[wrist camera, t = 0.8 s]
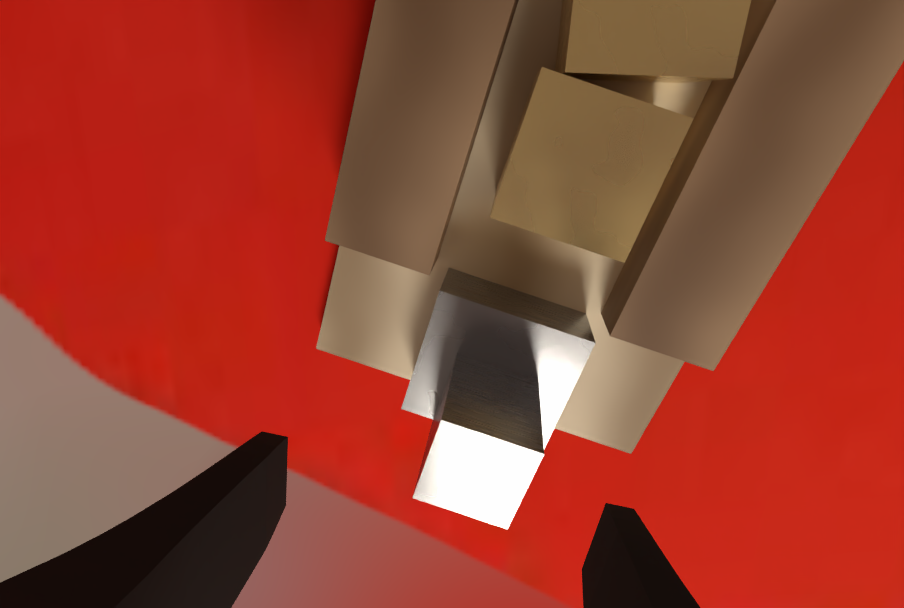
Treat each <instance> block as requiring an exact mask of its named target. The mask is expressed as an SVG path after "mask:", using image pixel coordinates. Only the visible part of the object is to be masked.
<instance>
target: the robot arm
mask: <svg viewBox="0 0 904 608" xmlns="http://www.w3.org/2000/svg"><path fill="white" fill-rule="evenodd" d="M287 448H288V437H286V436H281V435H276V434H271V433H266V432H261V433H259V434H257V435H256V436H254V437H253V438H252V439H250V440H249V441H247V442H246V443H244V444H243V445H241V446H240V447H238V448H237V449H236V450H234V451H233V452H231V453H230V454H228V455H227V456H226V457H224V458H223V459H221V460H220V461H218V462H217V463H215V464H214V465H213V466H211V467H210V468H208V469H207V470H205V471H204V472H202V473H201V474H199V475H198V476H196V477H195V478H193V479H192V480H190V481H189V482H187V483H186V484H184V485H183V486H181V487H180V488H178V489H177V490H175V491H174V492H172V493H170V494H169V495H167V496H166V497H164V498H162V499H161V500H159V501H157V502H156V503H154V504H152V505H151V506H149V507H148V508H146V509H144V510H143V511H141V512H139V513H138V514H136V515H134V516H133V517H131V518H129V519H128V520H126V521H124V522H122V523H121V524H119V525H117V526H115V527H113V528H112V529H110V530H108V531H106V532H104V533H103V534H101V535H99V536H97V537H95V538H93V539H91V540H89V541H87V542H85V543H83V544H81V545H80V546H78V547H76V548H74V549H72V550H70V551H68V552H66V553H64V554H62V555H60V556H58V557H56V558H53V559H51V560H49V561H47V562H45V563H42V564H40V565H38V566H36V567H34V568H31V569H29V570H27V571H25V572H23V573H20V574H18V575H16V576H14V577H12V578H9V579H7V580H5V581H3V582H1V583H0V608H231V607H232V605H233V604H234V602H235V600H236V599H237V597H238V595H239V594H240V592H241V590H242V589H243V587H244V585H245V584H246V582H247V580H248V579H249V577H250V575H251V574H252V572H253V570H254V569H255V567H256V565H257V563H258V562H259V560H260V558H261V557H262V555H263V553H264V551H265V550H266V548H267V546H268V544H269V541H270V539H271V537H272V535H273V533H274V531H275V528H276V526H277V524H278V522H279V520H280V517H281V515H282V513H283V510H284V508H285V506H286V482H287ZM582 583H583V605H584V608H700V607H699V605H698V604H697V602H696V601H695V599H694V598H693V597H692V595H691V594H690V592H689V591H688V589H687V588H686V587H685V585H684V584H683V582H682V581H681V579H680V578H679V576H678V575H677V574H676V572H675V571H674V569H673V568H672V566H671V565H670V563H669V562H668V560H667V559H666V557H665V555H664V554H663V552H662V551H661V549H660V548H659V546H658V545H657V543H656V542H655V540H654V539H653V537H652V536H651V534H650V533H649V531H648V530H647V528H646V526H645V525H644V523H643V522H642V520H641V519H640V517H639V516H638V514H637V513H636V511H635V510H634V509H632V508H627V507H622V506H617V505H613V504H608V503H606V504H605V507H604V510H603V513H602V515H601V518H600V521H599V524H598V526H597V529H596V532H595V535H594V537H593V540H592V543H591V546H590V548H589V551H588V554H587V557H586V559H585V562H584V565H583V568H582Z"/></svg>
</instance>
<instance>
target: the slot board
mask: <svg viewBox="0 0 904 608" xmlns="http://www.w3.org/2000/svg"><path fill="white" fill-rule="evenodd" d="M561 9H562V0H376V1H375V6H374V11H373V15H372V20H371V25H370V30H369V34H368V39H367V44H366V48H365V53H364V58H363V63H362V67H361V72H360V77H359V82H358V86H357V91H356V96H355V100H354V105H353V110H352V115H351V119H350V124H349V129H348V134H347V138H346V143H345V148H344V152H343V157H342V162H341V167H340V171H339V176H338V181H337V186H336V190H335V195H334V200H333V204H332V209H331V214H330V219H329V223H328V228H327V233H326V238H325V241H328V242H331V243H334V244H337V245H339V249H338V254H337V258H336V263H335V267H334V272H333V276H332V280H331V285H330V289H329V294H328V298H327V303H326V307H325V312H324V316H323V320H322V325H321V329H320V334H319V338H318V343H317V347H316V349H319V350H322V351H325V352H328V353H331V354H334V355H337V356H340V357H343V358H346V359H349V360H352V361H355V362H358V363H361V364H364V365H367V366H370V367H373V368H376V369H379V370H382V371H385V372H388V373H391V374H394V375H397V376H400V377H403V378H406V379H409V380H411V377H412V374H413V371H414V368H415V365H416V362H417V359H418V356H419V353H420V349H421V346H422V343H423V340H424V337H425V334H426V331H427V328H428V325H429V322H430V319H431V315H432V312H433V309H434V306H435V303H436V300H437V297H438V294H439V291H440V288H441V286H442V283H443V281H444V278H445V276H446V273H447V271H448V268H452V269H455V270H458V271H461V272H464V273H467V274H470V275H473V276H476V277H479V278H482V279H485V280H488V281H491V282H494V283H497V284H500V285H503V286H506V287H509V288H512V289H515V290H518V291H521V292H524V293H527V294H530V295H533V296H536V297H539V298H542V299H544V300H547V301H550V302H553V303H556V304H559V305H562V306H565V307H568V308H571V309H574V310H577V311H580V312H583V313H586V315H587V318H588V321H589V324H590V327H591V330H592V333H593V336H594V339H595V345H594V347H593V349H592V352H591V354H590V356H589V358H588V360H587V362H586V364H585V366H584V368H583V370H582V372H581V374H580V376H579V378H578V380H577V382H576V384H575V386H574V389H573V391H572V393H571V395H570V397H569V399H568V401H567V403H566V405H565V407H564V409H563V411H562V413H561V415H560V417H559V419H558V421H557V423H556V426H555V428H556V429H559V430H562V431H565V432H568V433H571V434H574V435H577V436H580V437H583V438H585V439H588V440H591V441H594V442H597V443H600V444H603V445H606V446H609V447H612V448H615V449H618V450H621V451H624V452H627V453H630V454H631V453H632V451H633V450H634V448H635V446H636V444H637V443H638V441H639V439H640V437H641V436H642V434H643V432H644V431H645V429H646V427H647V425H648V424H649V422H650V420H651V419H652V417H653V415H654V413H655V412H656V410H657V408H658V406H659V405H660V403H661V401H662V400H663V398H664V396H665V394H666V393H667V391H668V389H669V387H670V386H671V384H672V382H673V381H674V379H675V377H676V375H677V374H678V372H679V370H680V369H681V367H682V365H683V363H684V362H688V363H691V364H694V365H697V366H700V367H703V368H706V369H709V370H712V371H714V369H715V368H716V366H717V364H718V363H719V361H720V359H721V358H722V356H723V354H724V353H725V351H726V350H727V348H728V346H729V345H730V343H731V341H732V340H733V338H734V337H735V335H736V333H737V332H738V330H739V328H740V327H741V325H742V324H743V322H744V320H745V319H746V317H747V315H748V314H749V312H750V310H751V309H752V307H753V306H754V304H755V302H756V301H757V299H758V297H759V296H760V294H761V293H762V291H763V289H764V288H765V286H766V284H767V283H768V281H769V279H770V278H771V276H772V275H773V273H774V271H775V270H776V268H777V266H778V265H779V263H780V262H781V260H782V258H783V257H784V255H785V253H786V252H787V250H788V249H789V247H790V245H791V244H792V242H793V240H794V239H795V237H796V235H797V234H798V232H799V231H800V229H801V227H802V226H803V224H804V222H805V221H806V219H807V218H808V216H809V214H810V213H811V211H812V209H813V208H814V206H815V204H816V203H817V201H818V200H819V198H820V196H821V195H822V193H823V191H824V190H825V188H826V187H827V185H828V183H829V182H830V180H831V178H832V177H833V175H834V174H835V172H836V170H837V169H838V167H839V165H840V164H841V162H842V160H843V159H844V157H845V156H846V154H847V152H848V151H849V149H850V147H851V146H852V144H853V143H854V141H855V139H856V138H857V136H858V134H859V133H860V131H861V129H862V128H863V126H864V125H865V123H866V121H867V120H868V118H869V116H870V115H871V113H872V112H873V110H874V108H875V107H876V105H877V103H878V102H879V100H880V99H881V97H882V95H883V94H884V92H885V90H886V89H887V87H888V85H889V84H890V82H891V81H892V79H893V77H894V76H895V74H896V72H897V71H898V69H899V68H900V66H901V64H902V63H903V61H904V0H751V4H750V8H749V12H748V17H747V21H746V25H745V30H744V34H743V38H742V42H741V47H740V51H739V55H738V60H737V64H736V68H735V73H734V77H733V79H723V80H712V81H702V82H691V83H663V82H637V81H611V80H586V79H579V80H582V81H585V82H588V83H591V84H594V85H597V86H600V87H603V88H606V89H609V90H612V91H615V92H617V93H620V94H623V95H626V96H629V97H632V98H635V99H638V100H641V101H644V102H647V103H650V104H653V105H656V106H659V107H662V108H665V109H668V110H670V111H673V112H676V113H679V114H682V115H685V116H688V117H691V118H694V119H693V121H692V123H691V125H690V127H689V129H688V131H687V133H686V135H685V137H684V140H683V142H682V144H681V146H680V148H679V150H678V152H677V154H676V156H675V158H674V161H673V163H672V165H671V167H670V169H669V171H668V173H667V175H666V177H665V179H664V181H663V184H662V186H661V188H660V190H659V192H658V194H657V196H656V198H655V200H654V202H653V204H652V207H651V209H650V211H649V213H648V215H647V217H646V219H645V221H644V223H643V225H642V227H641V230H640V232H639V234H638V236H637V238H636V240H635V242H634V244H633V246H632V248H631V251H630V253H629V255H628V257H627V259H626V261H625V263H623V262H620V261H617V260H614V259H611V258H608V257H605V256H602V255H599V254H597V253H594V252H591V251H588V250H585V249H582V248H579V247H576V246H573V245H570V244H567V243H564V242H561V241H558V240H555V239H552V238H549V237H546V236H543V235H540V234H537V233H534V232H531V231H528V230H525V229H522V228H519V227H516V226H513V225H510V224H508V223H505V222H502V221H499V220H496V219H493V218H490V214H491V210H492V206H493V201H494V197H495V193H496V190H497V187H498V184H499V181H500V178H501V175H502V172H503V169H504V167H505V164H506V161H507V158H508V155H509V152H510V149H511V146H512V143H513V140H514V137H515V135H516V132H517V129H518V126H519V123H520V120H521V117H522V114H523V111H524V108H525V105H526V103H527V100H528V97H529V94H530V91H531V88H532V85H533V82H534V79H535V76H536V74H537V73H538V71H539V70H540V69H541V67H544V68H547V69H550V70H553V71H555V65H556V56H557V46H558V37H559V28H560V18H561Z"/></svg>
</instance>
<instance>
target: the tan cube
mask: <svg viewBox="0 0 904 608" xmlns="http://www.w3.org/2000/svg"><path fill="white" fill-rule="evenodd" d="M693 119H694V118H691V117H688V116H685V115H682V114H679V113H676V112H673V111H670V110H668V109H665V108H662V107H659V106H656V105H653V104H650V103H647V102H644V101H641V100H638V99H635V98H632V97H629V96H626V95H623V94H620V93H617V92H615V91H612V90H609V89H606V88H603V87H600V86H597V85H594V84H591V83H588V82H585V81H582V80H579V79H576V78H573V77H570V76H567V75H564V74H562V73H559V72H556V71H553V70H550V69H547V68H544V67H541V69H540V70H539V71H538V73H537V74H536V76H535V79H534V82H533V85H532V88H531V91H530V94H529V97H528V100H527V103H526V105H525V108H524V111H523V114H522V117H521V120H520V123H519V126H518V129H517V132H516V135H515V137H514V140H513V143H512V146H511V149H510V152H509V155H508V158H507V161H506V164H505V167H504V169H503V172H502V175H501V178H500V181H499V184H498V187H497V190H496V193H495V197H494V201H493V206H492V210H491V214H490V218H493V219H496V220H499V221H502V222H505V223H508V224H510V225H513V226H516V227H519V228H522V229H525V230H528V231H531V232H534V233H537V234H540V235H543V236H546V237H549V238H552V239H555V240H558V241H561V242H564V243H567V244H570V245H573V246H576V247H579V248H582V249H585V250H588V251H591V252H594V253H597V254H599V255H602V256H605V257H608V258H611V259H614V260H617V261H620V262H623V263H625V261H626V259H627V257H628V255H629V253H630V251H631V248H632V246H633V244H634V242H635V240H636V238H637V236H638V234H639V232H640V230H641V227H642V225H643V223H644V221H645V219H646V217H647V215H648V213H649V211H650V209H651V207H652V204H653V202H654V200H655V198H656V196H657V194H658V192H659V190H660V188H661V186H662V184H663V181H664V179H665V177H666V175H667V173H668V171H669V169H670V167H671V165H672V163H673V161H674V158H675V156H676V154H677V152H678V150H679V148H680V146H681V144H682V142H683V140H684V137H685V135H686V133H687V131H688V129H689V127H690V125H691V123H692V121H693Z"/></svg>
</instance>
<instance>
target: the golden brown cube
mask: <svg viewBox="0 0 904 608" xmlns="http://www.w3.org/2000/svg"><path fill="white" fill-rule="evenodd" d="M750 4H751V0H562V9H561V18H560V28H559V37H558V46H557V56H556V65H555V71H556V72H559V73H562V74H564V75H567V76H570V77H573V78H576V79H586V80H611V81H637V82H663V83H691V82H702V81H712V80H723V79H733V77H734V73H735V68H736V64H737V60H738V55H739V51H740V47H741V42H742V38H743V34H744V30H745V25H746V21H747V17H748V12H749V8H750Z"/></svg>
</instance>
